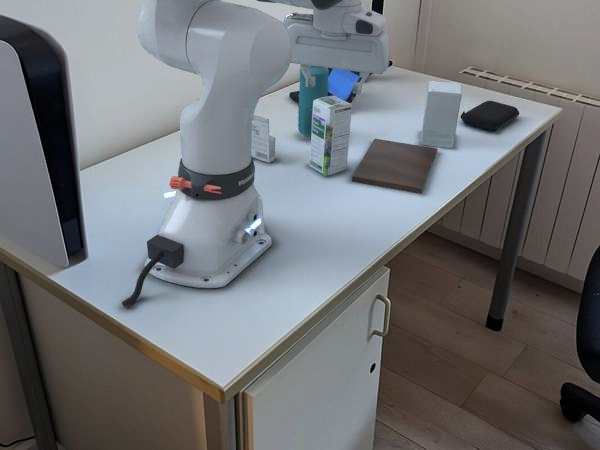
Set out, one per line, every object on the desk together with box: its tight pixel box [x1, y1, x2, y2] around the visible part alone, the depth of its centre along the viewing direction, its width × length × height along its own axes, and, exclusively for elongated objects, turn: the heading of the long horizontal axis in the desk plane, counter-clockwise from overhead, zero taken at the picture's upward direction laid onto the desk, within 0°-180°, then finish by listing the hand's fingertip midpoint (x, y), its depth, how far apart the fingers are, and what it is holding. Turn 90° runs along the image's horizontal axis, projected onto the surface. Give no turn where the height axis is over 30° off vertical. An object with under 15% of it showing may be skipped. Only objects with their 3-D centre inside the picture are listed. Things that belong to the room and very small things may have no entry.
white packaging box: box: [420, 80, 463, 149], centre depth 150 cm, size 7×7×13 cm
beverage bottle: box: [297, 66, 329, 137], centre depth 148 cm, size 6×7×20 cm
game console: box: [288, 68, 363, 105], centre depth 169 cm, size 16×14×9 cm
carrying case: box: [460, 100, 520, 133], centre depth 164 cm, size 11×3×15 cm
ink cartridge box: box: [251, 114, 276, 164], centre depth 141 cm, size 2×11×10 cm, turn 56°
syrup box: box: [309, 96, 353, 177], centre depth 136 cm, size 6×6×14 cm
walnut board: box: [351, 138, 439, 195], centre depth 141 cm, size 20×14×1 cm
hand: (333, 89), depth 131 cm, fingers open, 8 cm apart
